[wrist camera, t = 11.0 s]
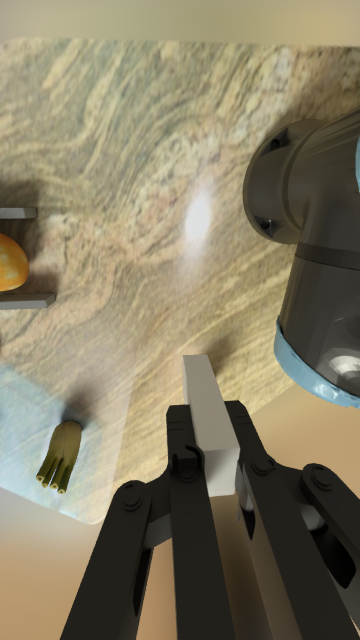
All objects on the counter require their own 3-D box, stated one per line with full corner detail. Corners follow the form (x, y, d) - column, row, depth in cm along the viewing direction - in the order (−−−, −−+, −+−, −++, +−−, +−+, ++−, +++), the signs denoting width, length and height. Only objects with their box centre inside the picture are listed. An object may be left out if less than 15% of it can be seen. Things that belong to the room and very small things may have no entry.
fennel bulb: (87, 435, 52) (69, 495, 41) (63, 439, 52) (39, 501, 41) (79, 414, 49) (57, 473, 39) (54, 419, 49) (25, 478, 38)
